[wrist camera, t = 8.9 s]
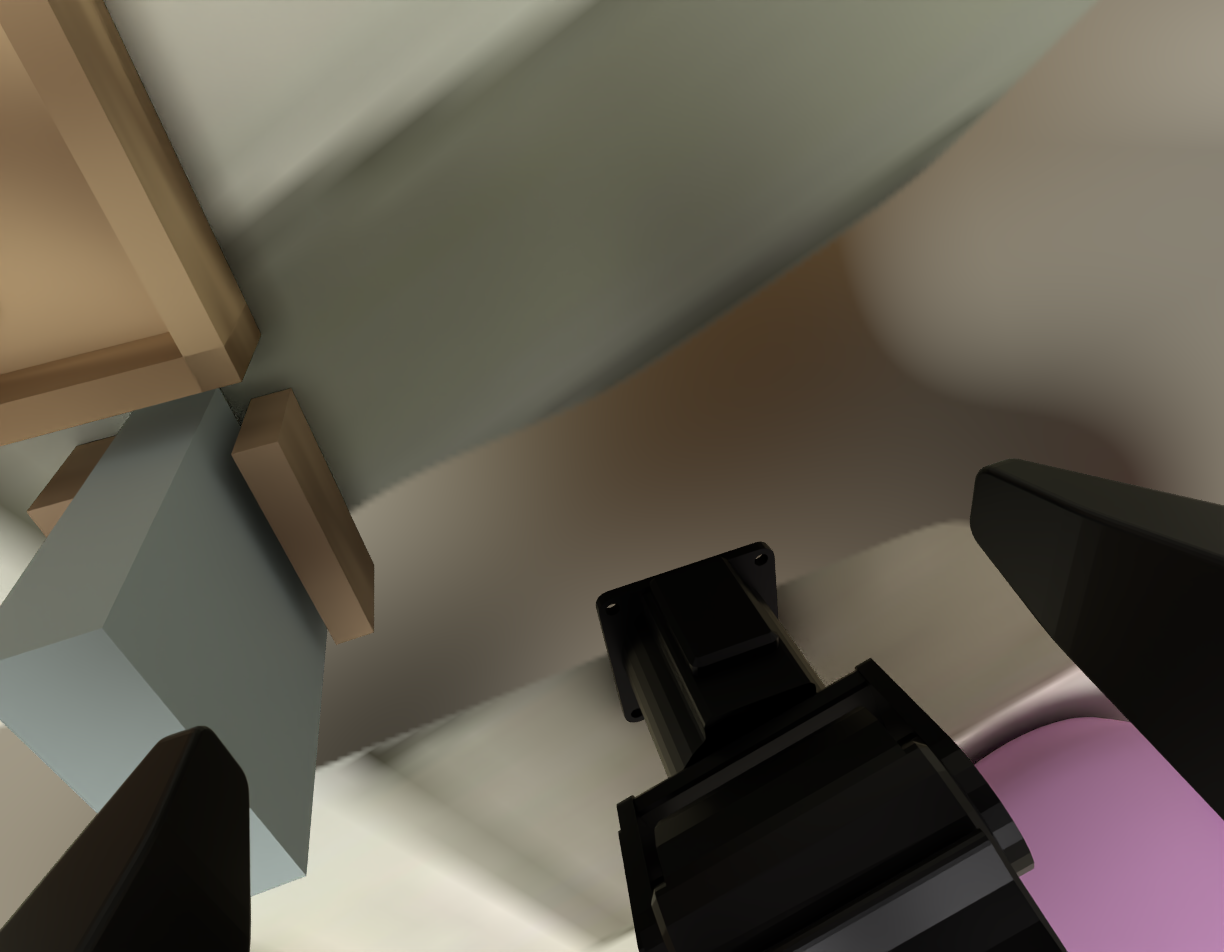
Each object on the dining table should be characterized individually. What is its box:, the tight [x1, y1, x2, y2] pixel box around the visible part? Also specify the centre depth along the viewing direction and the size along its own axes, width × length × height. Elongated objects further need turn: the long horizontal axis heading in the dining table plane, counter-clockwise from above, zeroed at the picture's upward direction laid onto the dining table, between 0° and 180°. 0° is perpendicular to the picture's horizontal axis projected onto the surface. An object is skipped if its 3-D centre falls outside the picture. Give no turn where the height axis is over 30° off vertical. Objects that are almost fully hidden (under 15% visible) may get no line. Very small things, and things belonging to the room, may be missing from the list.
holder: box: [27, 388, 374, 645], centre depth 18 cm, size 6×5×3 cm
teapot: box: [974, 717, 1224, 952], centre depth 36 cm, size 22×22×14 cm
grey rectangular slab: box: [0, 388, 327, 896], centre depth 16 cm, size 7×2×9 cm, turn 11°
